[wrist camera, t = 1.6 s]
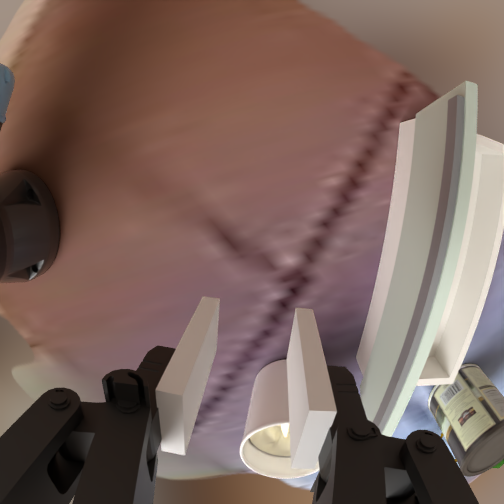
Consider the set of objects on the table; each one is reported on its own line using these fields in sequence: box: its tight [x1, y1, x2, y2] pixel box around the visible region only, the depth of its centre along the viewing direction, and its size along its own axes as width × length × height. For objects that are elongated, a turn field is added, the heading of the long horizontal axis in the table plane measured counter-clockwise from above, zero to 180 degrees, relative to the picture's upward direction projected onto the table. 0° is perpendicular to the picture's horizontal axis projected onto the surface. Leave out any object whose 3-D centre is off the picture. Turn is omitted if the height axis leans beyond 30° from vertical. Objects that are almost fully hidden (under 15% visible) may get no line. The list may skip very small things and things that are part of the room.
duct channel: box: [356, 118, 504, 386], centre depth 30 cm, size 12×28×6 cm, turn 174°
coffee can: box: [428, 363, 504, 476], centre depth 31 cm, size 10×10×14 cm
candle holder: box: [240, 359, 319, 479], centre depth 33 cm, size 10×10×12 cm
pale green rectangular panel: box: [360, 81, 478, 437], centre depth 22 cm, size 12×28×1 cm
